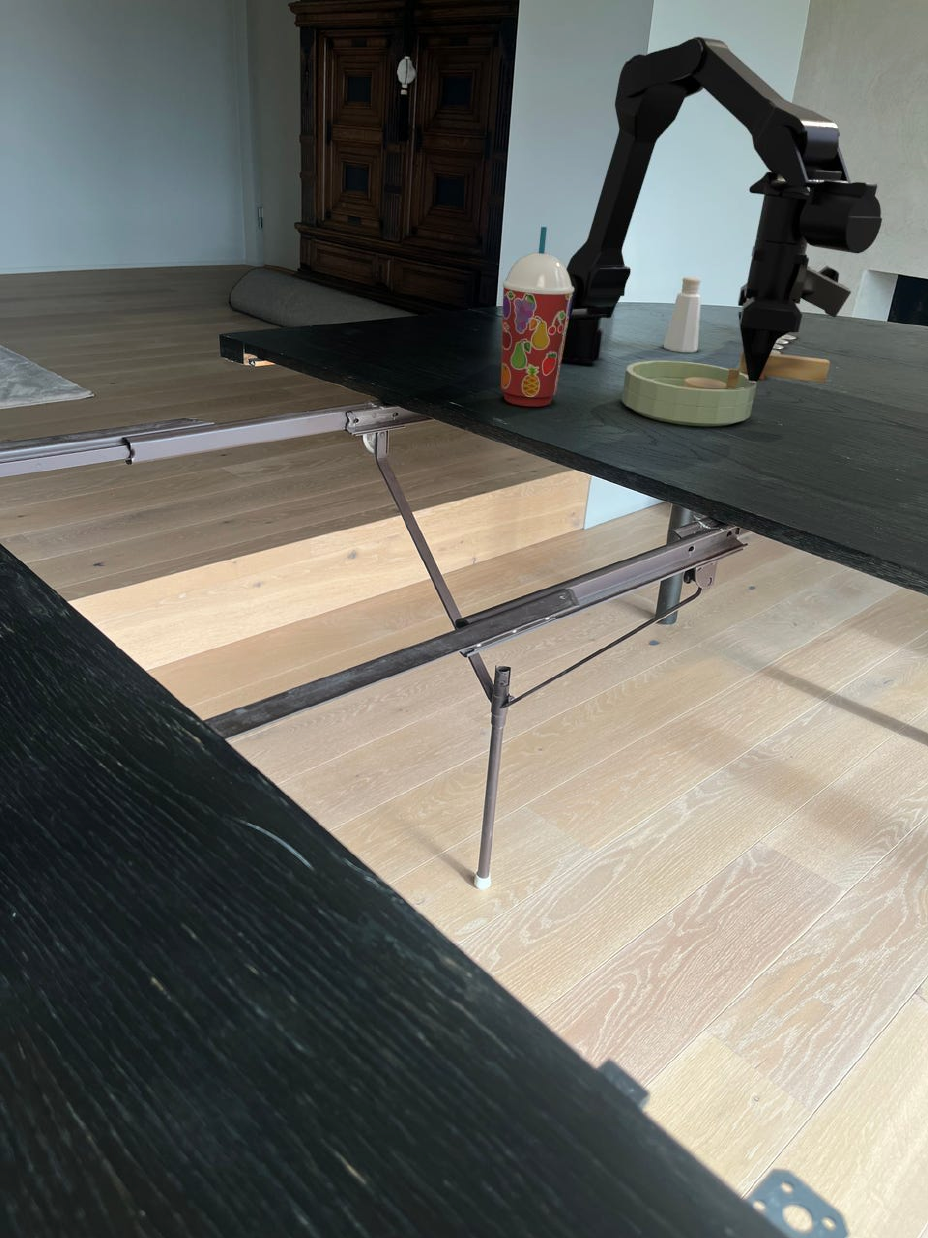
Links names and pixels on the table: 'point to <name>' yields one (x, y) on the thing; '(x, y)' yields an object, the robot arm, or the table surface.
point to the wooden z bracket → (771, 371)
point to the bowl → (686, 394)
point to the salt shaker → (685, 318)
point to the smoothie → (534, 327)
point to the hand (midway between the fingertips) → (752, 379)
